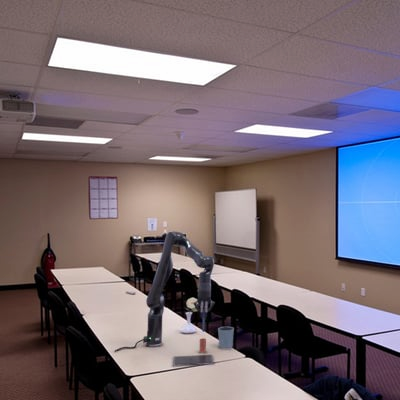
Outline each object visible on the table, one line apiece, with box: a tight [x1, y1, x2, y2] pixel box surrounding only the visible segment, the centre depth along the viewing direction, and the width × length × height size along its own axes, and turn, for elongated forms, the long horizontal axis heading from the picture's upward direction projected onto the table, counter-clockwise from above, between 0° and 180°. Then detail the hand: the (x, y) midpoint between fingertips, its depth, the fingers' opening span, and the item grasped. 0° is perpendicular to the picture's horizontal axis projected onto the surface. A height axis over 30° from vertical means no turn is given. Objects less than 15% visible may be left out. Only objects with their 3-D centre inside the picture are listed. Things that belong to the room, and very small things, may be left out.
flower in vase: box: [180, 297, 198, 334], centre depth 302 cm, size 13×11×25 cm
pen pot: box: [198, 337, 207, 354], centre depth 259 cm, size 4×4×8 cm
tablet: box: [172, 354, 214, 367], centre depth 244 cm, size 22×14×1 cm, turn 101°
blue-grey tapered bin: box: [217, 326, 235, 350], centre depth 270 cm, size 10×10×12 cm
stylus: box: [201, 309, 206, 333], centre depth 253 cm, size 1×1×13 cm
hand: (203, 318), depth 253 cm, fingers closed on stylus, 1 cm apart
